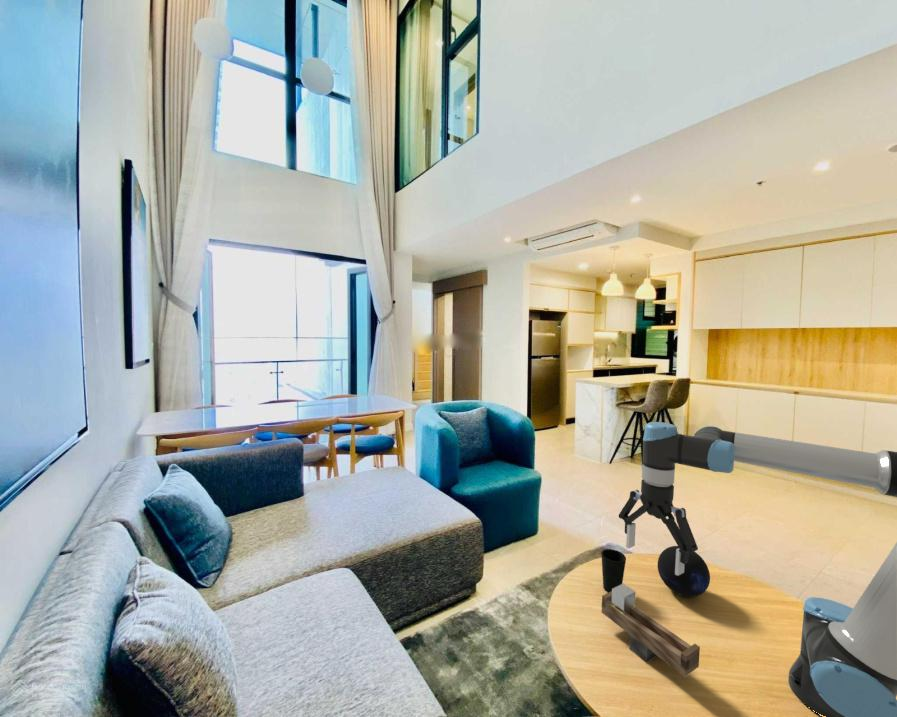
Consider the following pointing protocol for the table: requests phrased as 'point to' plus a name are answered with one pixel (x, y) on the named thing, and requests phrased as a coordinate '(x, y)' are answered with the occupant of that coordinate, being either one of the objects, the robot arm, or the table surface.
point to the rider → (623, 597)
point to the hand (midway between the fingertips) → (653, 559)
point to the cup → (612, 568)
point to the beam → (652, 638)
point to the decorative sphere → (692, 578)
